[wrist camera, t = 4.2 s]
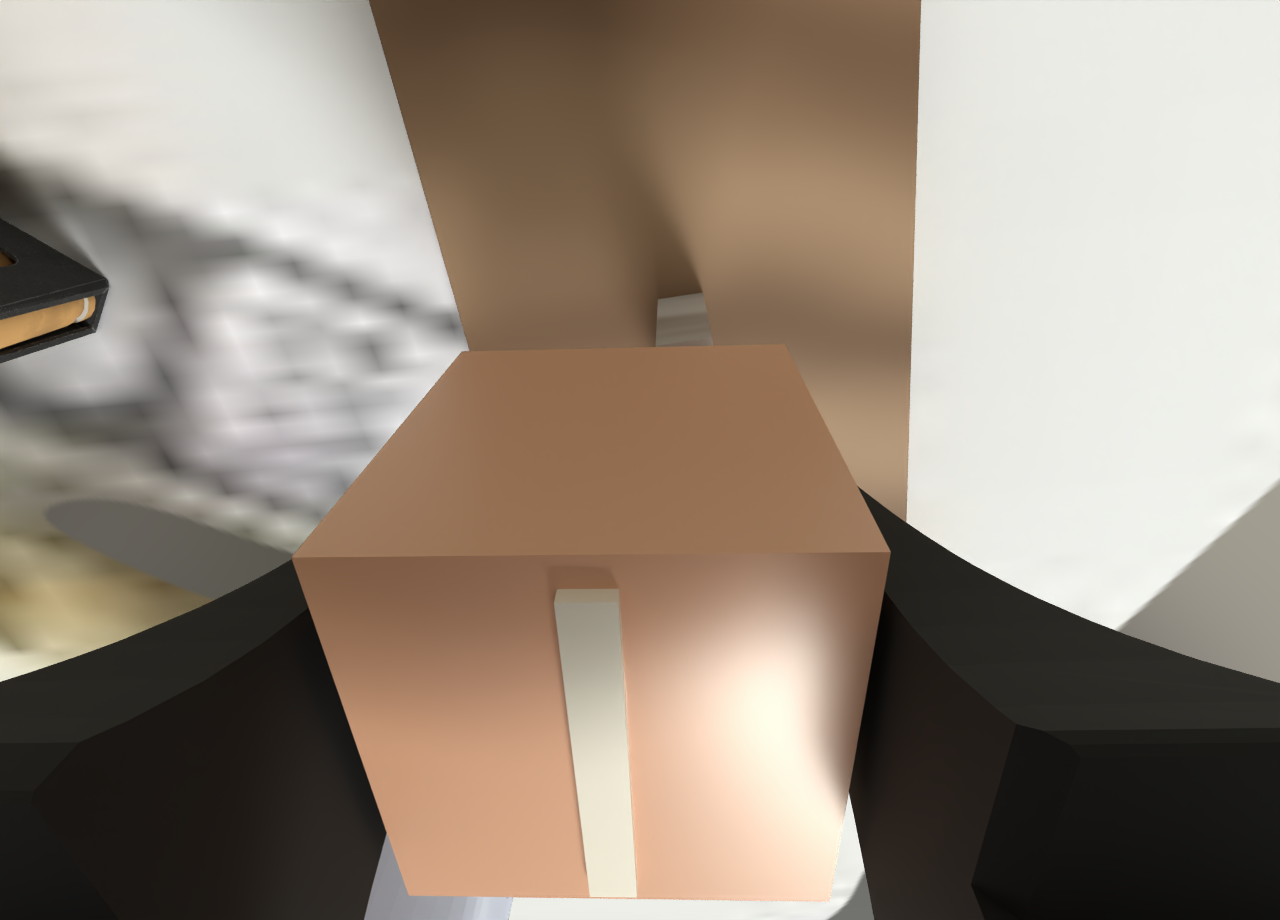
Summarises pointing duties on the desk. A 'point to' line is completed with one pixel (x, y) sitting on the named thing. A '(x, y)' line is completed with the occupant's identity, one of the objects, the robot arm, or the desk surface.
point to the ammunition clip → (43, 295)
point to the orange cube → (606, 626)
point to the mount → (680, 184)
